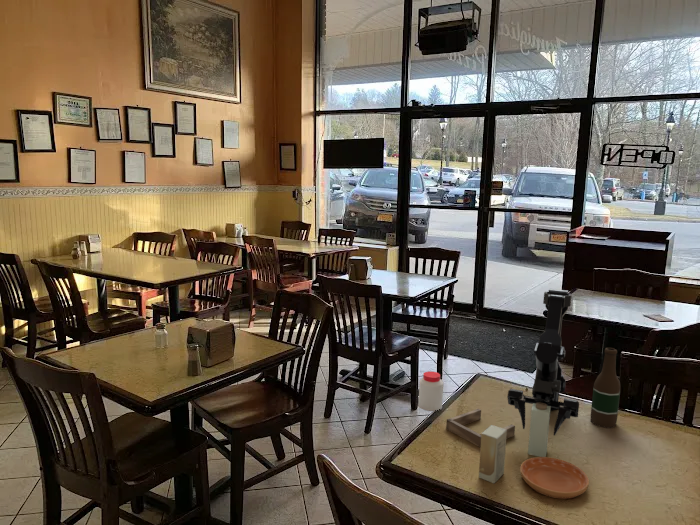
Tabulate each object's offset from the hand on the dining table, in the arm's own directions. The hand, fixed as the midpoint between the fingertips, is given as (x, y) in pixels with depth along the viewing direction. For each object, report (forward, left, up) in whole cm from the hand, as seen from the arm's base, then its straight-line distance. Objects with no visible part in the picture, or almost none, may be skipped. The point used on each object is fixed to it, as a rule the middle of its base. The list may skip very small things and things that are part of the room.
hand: (538, 431), depth 146 cm
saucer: (+7, +12, -7) cm, 16 cm away
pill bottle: (+9, -38, -7) cm, 39 cm away
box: (+6, -17, -7) cm, 19 cm away
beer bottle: (-34, -6, -7) cm, 35 cm away
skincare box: (+19, +3, -7) cm, 20 cm away
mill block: (-1, -1, -7) cm, 7 cm away
